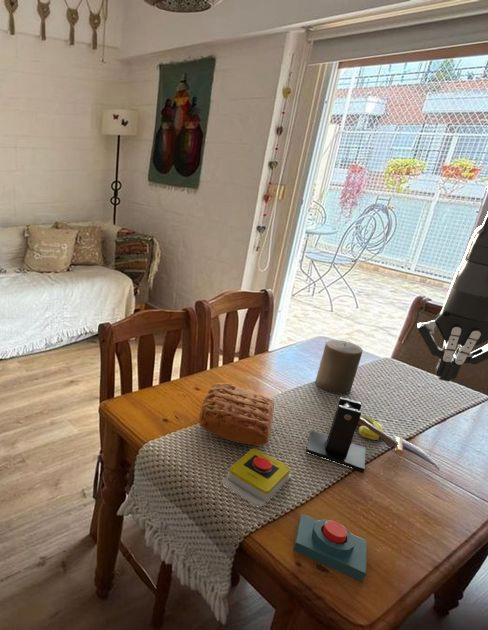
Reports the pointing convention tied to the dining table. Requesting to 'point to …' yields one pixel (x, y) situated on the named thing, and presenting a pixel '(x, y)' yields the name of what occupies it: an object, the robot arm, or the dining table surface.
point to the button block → (331, 548)
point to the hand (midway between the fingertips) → (443, 378)
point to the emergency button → (257, 477)
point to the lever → (381, 433)
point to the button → (334, 532)
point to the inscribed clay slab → (237, 414)
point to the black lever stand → (340, 438)
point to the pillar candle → (338, 366)
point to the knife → (406, 445)
